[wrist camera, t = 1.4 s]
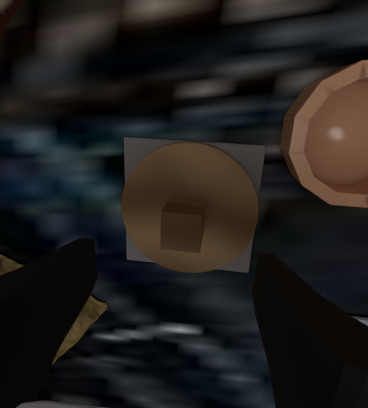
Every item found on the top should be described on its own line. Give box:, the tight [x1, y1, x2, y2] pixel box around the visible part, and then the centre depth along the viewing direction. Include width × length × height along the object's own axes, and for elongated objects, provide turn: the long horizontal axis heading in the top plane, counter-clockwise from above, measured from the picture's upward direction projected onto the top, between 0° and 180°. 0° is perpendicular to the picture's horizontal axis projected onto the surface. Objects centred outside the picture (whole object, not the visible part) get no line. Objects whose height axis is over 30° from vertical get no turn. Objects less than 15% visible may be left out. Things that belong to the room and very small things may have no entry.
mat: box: [124, 137, 266, 273], centre depth 22 cm, size 10×10×1 cm
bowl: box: [280, 60, 368, 208], centre depth 17 cm, size 8×8×3 cm
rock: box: [0, 255, 107, 364], centre depth 23 cm, size 11×9×10 cm
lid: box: [121, 142, 258, 273], centre depth 19 cm, size 10×10×4 cm
